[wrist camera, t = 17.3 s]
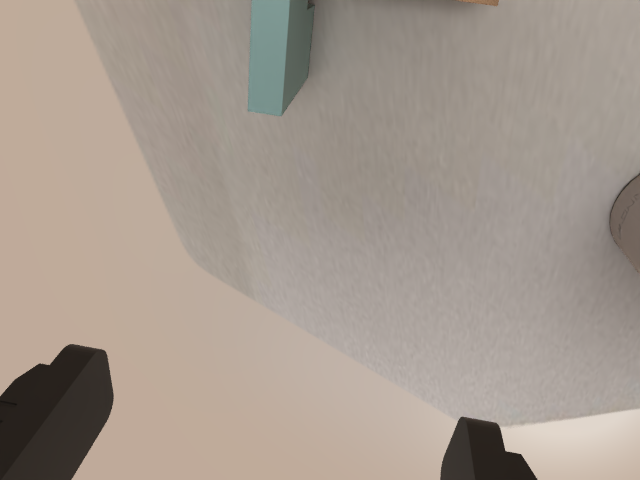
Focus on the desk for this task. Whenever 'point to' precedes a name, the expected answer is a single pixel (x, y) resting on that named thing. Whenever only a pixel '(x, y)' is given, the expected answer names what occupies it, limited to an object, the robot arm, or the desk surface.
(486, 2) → the slotted board
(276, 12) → the notched plate
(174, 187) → the desk surface
